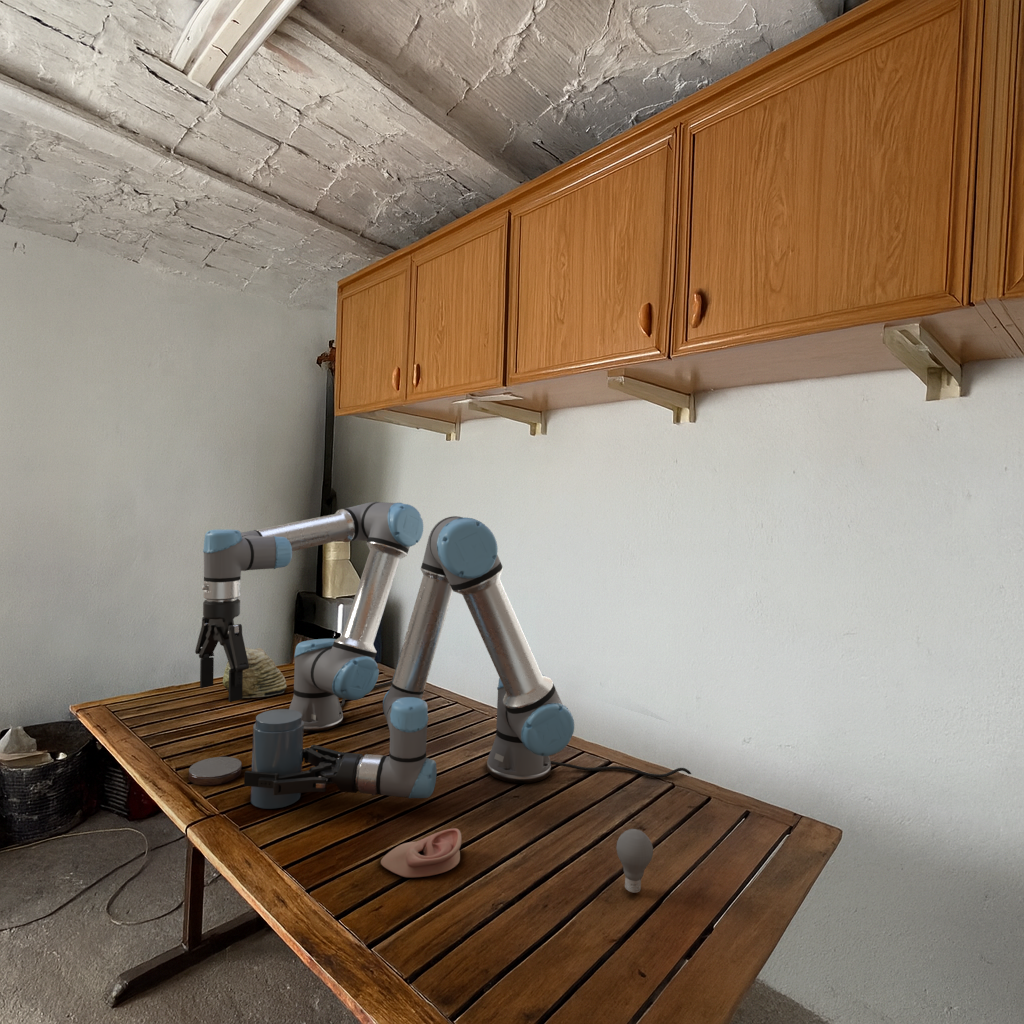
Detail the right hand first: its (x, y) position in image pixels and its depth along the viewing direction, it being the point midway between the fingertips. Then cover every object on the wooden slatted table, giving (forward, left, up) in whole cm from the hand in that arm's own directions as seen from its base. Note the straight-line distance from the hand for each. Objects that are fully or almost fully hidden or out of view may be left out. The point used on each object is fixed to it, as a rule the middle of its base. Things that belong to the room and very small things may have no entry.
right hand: (260, 765), depth 133 cm
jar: (-3, +2, -7) cm, 7 cm away
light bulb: (-59, +51, -7) cm, 79 cm away
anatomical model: (-28, +33, -7) cm, 43 cm away
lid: (+9, -13, -5) cm, 17 cm away
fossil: (+3, -71, -7) cm, 71 cm away
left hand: (+9, -13, +12) cm, 20 cm away
